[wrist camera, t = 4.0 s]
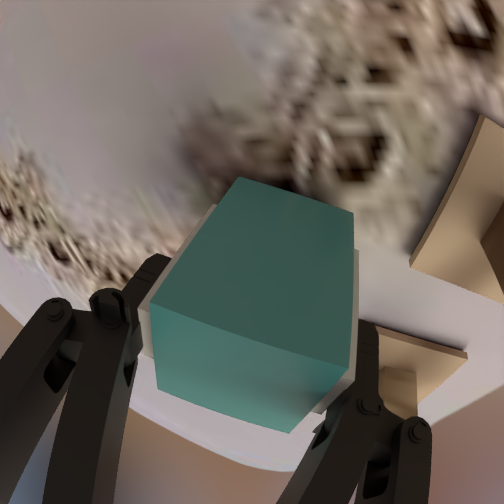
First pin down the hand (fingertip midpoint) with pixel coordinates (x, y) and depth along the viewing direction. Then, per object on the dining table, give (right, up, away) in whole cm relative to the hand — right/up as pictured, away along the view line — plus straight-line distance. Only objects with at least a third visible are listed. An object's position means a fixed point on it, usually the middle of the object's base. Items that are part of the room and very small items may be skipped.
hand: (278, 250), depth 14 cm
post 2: (+9, -9, +5) cm, 13 cm away
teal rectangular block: (0, 0, +1) cm, 1 cm away
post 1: (+11, +1, -3) cm, 12 cm away
